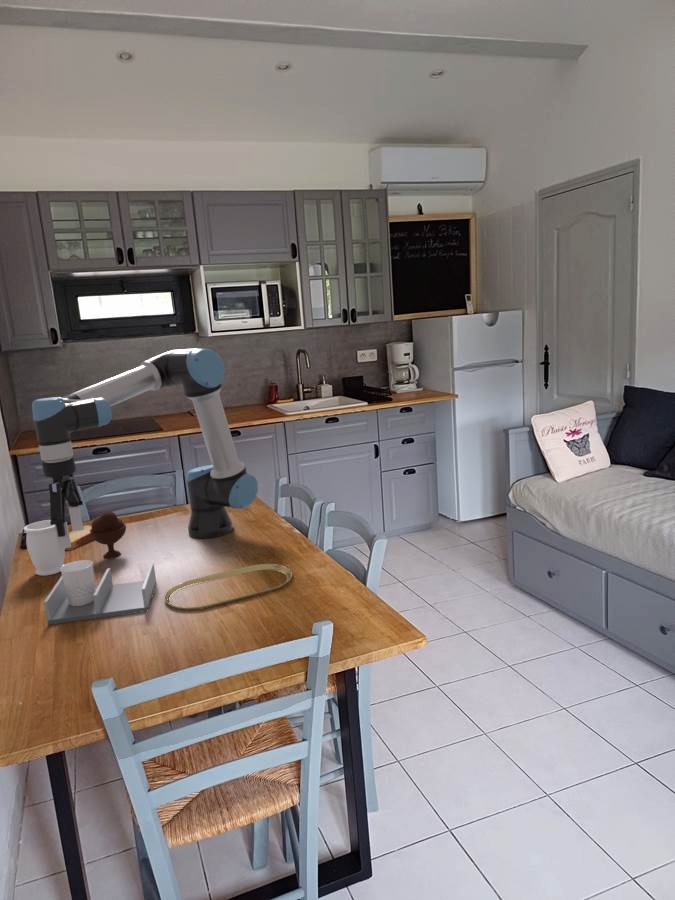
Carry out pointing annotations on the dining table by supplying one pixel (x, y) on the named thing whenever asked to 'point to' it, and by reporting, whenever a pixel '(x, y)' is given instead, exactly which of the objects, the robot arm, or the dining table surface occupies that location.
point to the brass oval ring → (228, 574)
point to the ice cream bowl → (108, 532)
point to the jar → (44, 548)
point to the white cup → (79, 582)
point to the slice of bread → (80, 537)
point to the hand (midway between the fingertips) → (71, 538)
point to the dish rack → (102, 599)
